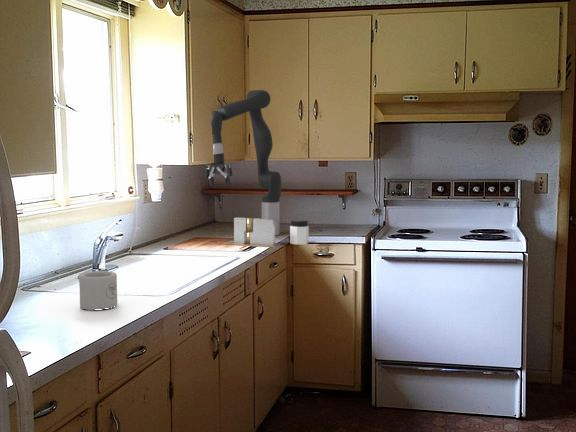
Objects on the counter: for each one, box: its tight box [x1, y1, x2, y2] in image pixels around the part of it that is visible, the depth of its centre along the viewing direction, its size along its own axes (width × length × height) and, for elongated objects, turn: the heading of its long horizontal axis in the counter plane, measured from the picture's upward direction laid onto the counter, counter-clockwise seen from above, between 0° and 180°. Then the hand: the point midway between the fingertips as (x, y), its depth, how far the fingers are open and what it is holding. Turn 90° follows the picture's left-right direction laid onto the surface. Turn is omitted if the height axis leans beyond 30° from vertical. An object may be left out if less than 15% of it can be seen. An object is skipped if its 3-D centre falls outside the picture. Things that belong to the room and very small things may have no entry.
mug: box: [78, 270, 118, 311], centre depth 206 cm, size 14×11×10 cm
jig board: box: [220, 240, 281, 248], centre depth 322 cm, size 12×26×1 cm, turn 71°
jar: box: [289, 218, 310, 245], centre depth 325 cm, size 9×8×12 cm
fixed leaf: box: [246, 217, 276, 246], centre depth 319 cm, size 3×14×12 cm, turn 70°
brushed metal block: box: [233, 217, 253, 244], centre depth 322 cm, size 8×3×12 cm, turn 71°
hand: (219, 186), depth 334 cm, fingers open, 8 cm apart
